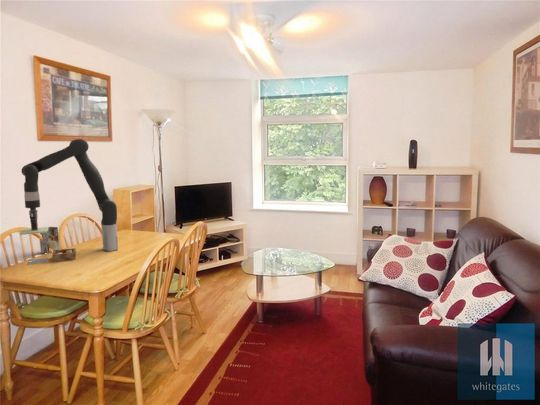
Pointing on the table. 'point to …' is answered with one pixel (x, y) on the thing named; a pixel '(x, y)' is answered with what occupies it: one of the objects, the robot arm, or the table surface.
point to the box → (64, 255)
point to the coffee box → (49, 240)
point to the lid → (34, 230)
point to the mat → (37, 261)
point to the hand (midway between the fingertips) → (34, 228)
